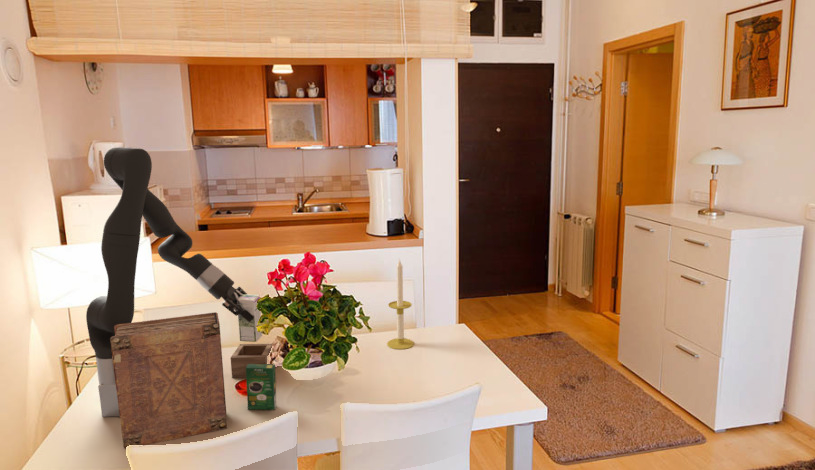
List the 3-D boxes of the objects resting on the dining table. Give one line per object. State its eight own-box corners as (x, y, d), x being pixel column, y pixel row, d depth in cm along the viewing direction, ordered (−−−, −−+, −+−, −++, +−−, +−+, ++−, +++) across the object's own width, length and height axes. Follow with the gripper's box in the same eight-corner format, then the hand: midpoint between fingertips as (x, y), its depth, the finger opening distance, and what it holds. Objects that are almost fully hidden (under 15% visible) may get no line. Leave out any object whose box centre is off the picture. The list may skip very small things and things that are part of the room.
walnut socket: (266, 377, 177) (265, 357, 176) (232, 377, 177) (230, 357, 176) (273, 362, 188) (272, 343, 187) (241, 363, 188) (240, 344, 187)
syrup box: (262, 335, 183) (260, 293, 180) (256, 342, 177) (253, 299, 174) (246, 334, 184) (243, 293, 181) (239, 341, 178) (236, 299, 175)
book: (122, 449, 139) (108, 337, 133) (126, 431, 147) (113, 324, 141) (228, 428, 148) (219, 322, 142) (225, 412, 156) (217, 311, 150)
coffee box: (278, 405, 160) (275, 363, 157) (275, 410, 157) (273, 367, 154) (250, 405, 160) (247, 363, 157) (247, 410, 157) (244, 367, 154)
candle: (402, 336, 210) (401, 254, 204) (419, 344, 203) (419, 259, 196) (381, 343, 204) (379, 258, 197) (398, 351, 196) (397, 263, 190)
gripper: (215, 280, 169) (256, 316, 171) (229, 267, 183) (267, 301, 186) (199, 296, 170) (241, 332, 172) (215, 283, 184) (252, 316, 187)
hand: (254, 316), depth 179 cm, fingers closed on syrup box, 6 cm apart
